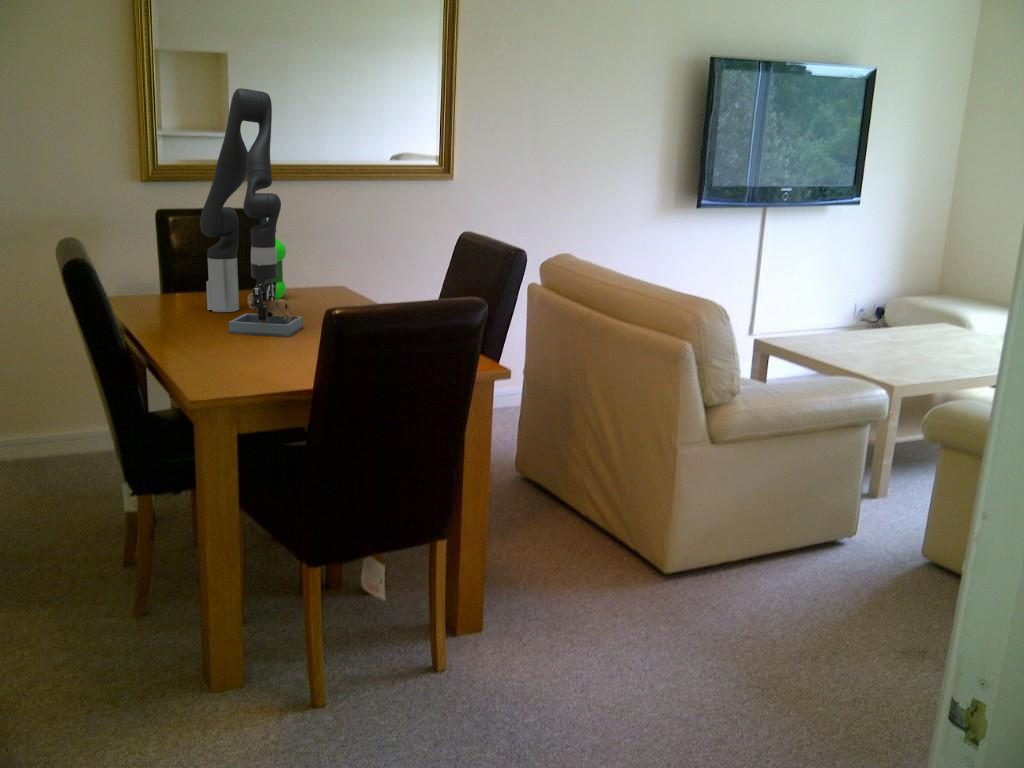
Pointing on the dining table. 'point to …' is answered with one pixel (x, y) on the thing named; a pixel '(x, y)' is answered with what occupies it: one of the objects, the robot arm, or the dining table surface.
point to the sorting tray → (265, 325)
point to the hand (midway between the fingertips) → (265, 318)
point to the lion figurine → (273, 307)
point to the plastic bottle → (279, 270)
